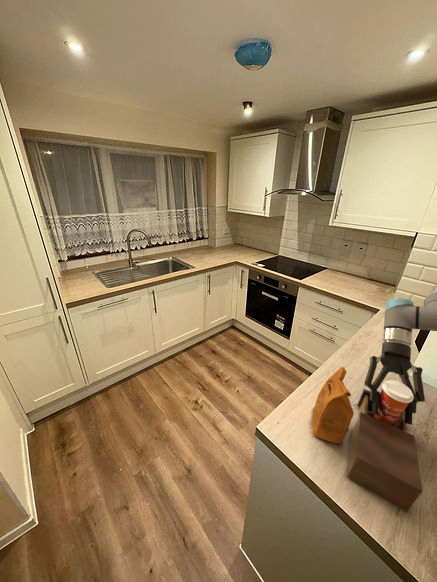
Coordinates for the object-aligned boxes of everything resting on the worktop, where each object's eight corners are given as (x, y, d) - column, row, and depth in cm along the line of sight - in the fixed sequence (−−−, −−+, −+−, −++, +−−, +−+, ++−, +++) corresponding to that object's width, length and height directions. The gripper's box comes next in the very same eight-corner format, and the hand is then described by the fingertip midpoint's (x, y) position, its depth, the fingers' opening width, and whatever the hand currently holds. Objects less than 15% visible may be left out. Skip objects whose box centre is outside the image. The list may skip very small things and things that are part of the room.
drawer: (358, 394, 89) (364, 379, 86) (397, 410, 84) (405, 394, 80) (354, 436, 74) (361, 420, 71) (401, 459, 68) (411, 443, 65)
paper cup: (371, 425, 73) (386, 394, 67) (367, 405, 80) (381, 375, 73) (400, 435, 71) (419, 403, 65) (394, 414, 77) (410, 383, 71)
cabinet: (351, 431, 77) (360, 411, 73) (402, 455, 70) (414, 435, 66) (346, 477, 65) (356, 456, 61) (406, 511, 58) (422, 491, 54)
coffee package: (341, 416, 82) (360, 368, 72) (343, 449, 71) (365, 399, 62) (311, 405, 85) (325, 358, 76) (309, 436, 75) (325, 386, 65)
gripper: (428, 354, 77) (426, 429, 70) (357, 338, 83) (349, 405, 77) (442, 351, 70) (441, 434, 63) (364, 334, 77) (356, 407, 70)
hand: (391, 418), depth 70 cm, fingers closed on paper cup, 8 cm apart
